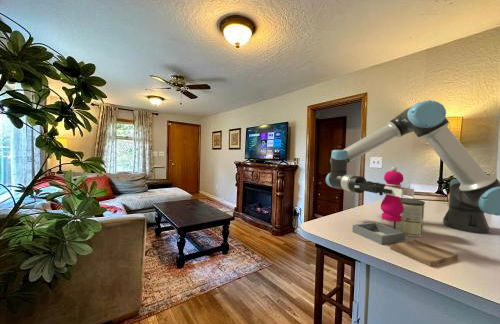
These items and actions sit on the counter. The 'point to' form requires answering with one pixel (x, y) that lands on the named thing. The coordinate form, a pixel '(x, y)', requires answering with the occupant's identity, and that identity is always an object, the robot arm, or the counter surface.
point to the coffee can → (411, 217)
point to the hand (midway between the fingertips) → (407, 193)
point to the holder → (390, 236)
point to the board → (424, 252)
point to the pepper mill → (392, 197)
